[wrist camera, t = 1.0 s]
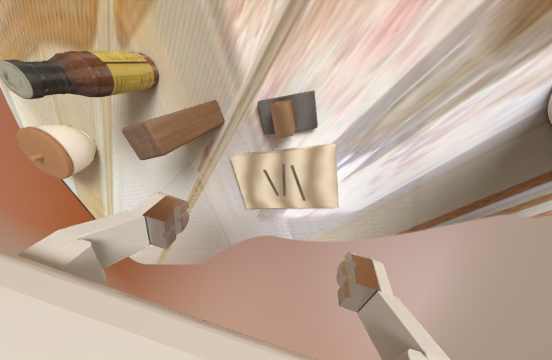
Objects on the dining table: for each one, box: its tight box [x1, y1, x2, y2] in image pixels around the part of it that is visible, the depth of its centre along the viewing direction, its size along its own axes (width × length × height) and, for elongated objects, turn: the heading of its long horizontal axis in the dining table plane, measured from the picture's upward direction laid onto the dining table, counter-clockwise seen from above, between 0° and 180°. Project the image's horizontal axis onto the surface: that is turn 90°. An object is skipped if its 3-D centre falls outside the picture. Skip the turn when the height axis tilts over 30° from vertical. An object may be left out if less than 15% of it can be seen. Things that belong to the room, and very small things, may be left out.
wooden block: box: [122, 100, 225, 160], centre depth 33 cm, size 9×4×18 cm, turn 106°
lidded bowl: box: [16, 124, 97, 179], centre depth 48 cm, size 13×13×11 cm
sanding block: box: [258, 91, 318, 138], centre depth 34 cm, size 10×6×7 cm, turn 101°
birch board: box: [230, 144, 339, 209], centre depth 43 cm, size 22×14×2 cm, turn 101°
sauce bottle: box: [0, 51, 158, 99], centre depth 30 cm, size 6×6×20 cm
